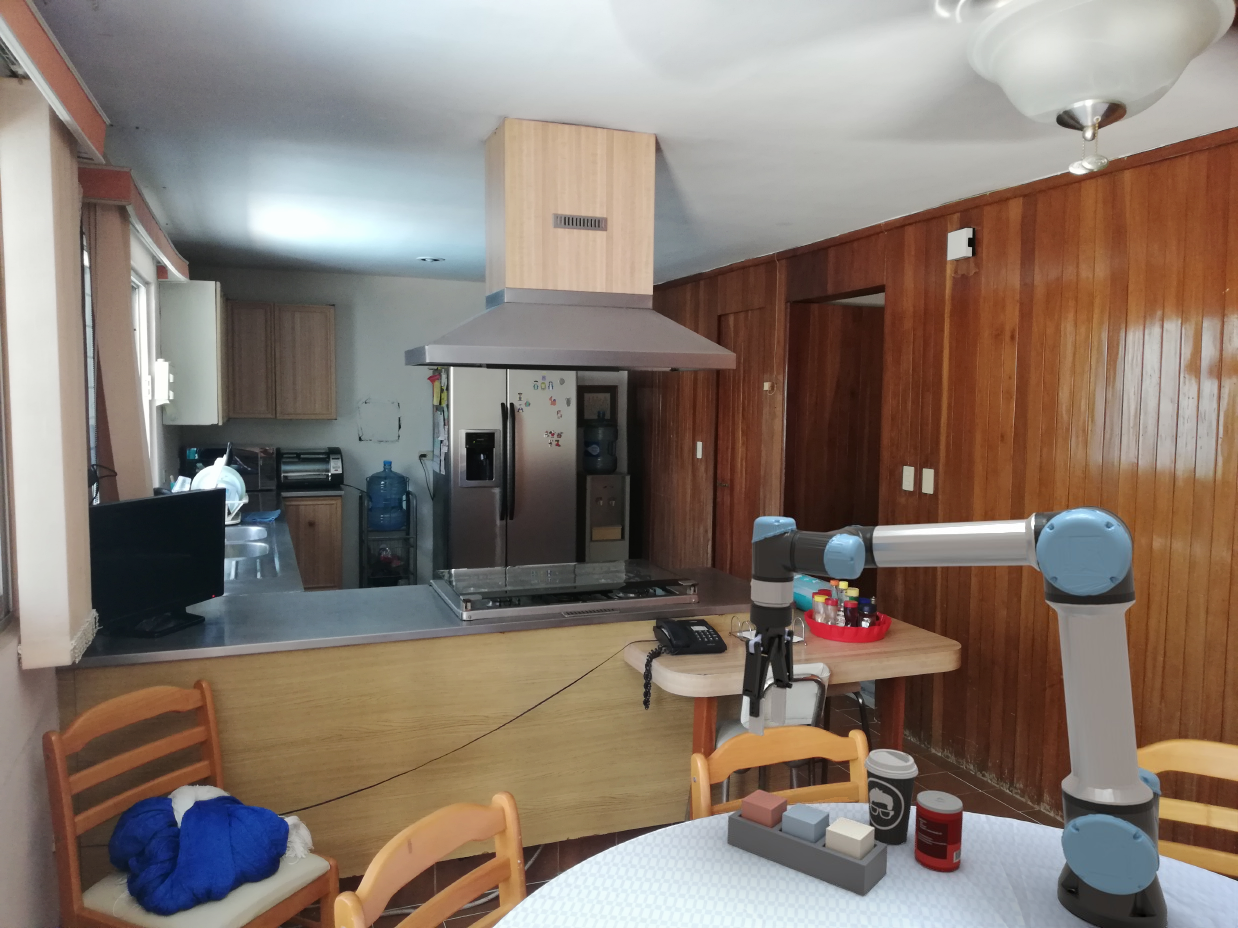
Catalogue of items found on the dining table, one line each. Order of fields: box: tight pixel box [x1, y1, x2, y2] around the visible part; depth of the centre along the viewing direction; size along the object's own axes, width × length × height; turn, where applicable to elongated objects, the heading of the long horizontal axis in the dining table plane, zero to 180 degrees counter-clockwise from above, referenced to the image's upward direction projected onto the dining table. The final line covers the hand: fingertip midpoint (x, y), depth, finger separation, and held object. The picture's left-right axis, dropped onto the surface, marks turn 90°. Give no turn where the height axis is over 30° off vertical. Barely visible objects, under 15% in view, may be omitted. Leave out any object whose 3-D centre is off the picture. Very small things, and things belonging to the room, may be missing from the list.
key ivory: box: [825, 816, 875, 860], centre depth 141 cm, size 6×6×4 cm
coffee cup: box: [863, 748, 919, 846], centre depth 155 cm, size 10×10×15 cm
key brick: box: [741, 789, 788, 828], centre depth 151 cm, size 6×6×4 cm
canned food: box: [914, 790, 964, 873], centre depth 147 cm, size 8×8×11 cm
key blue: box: [782, 802, 830, 844], centre depth 146 cm, size 6×6×4 cm
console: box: [726, 807, 888, 897], centre depth 146 cm, size 26×9×5 cm, turn 51°
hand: (767, 727), depth 151 cm, fingers open, 7 cm apart
